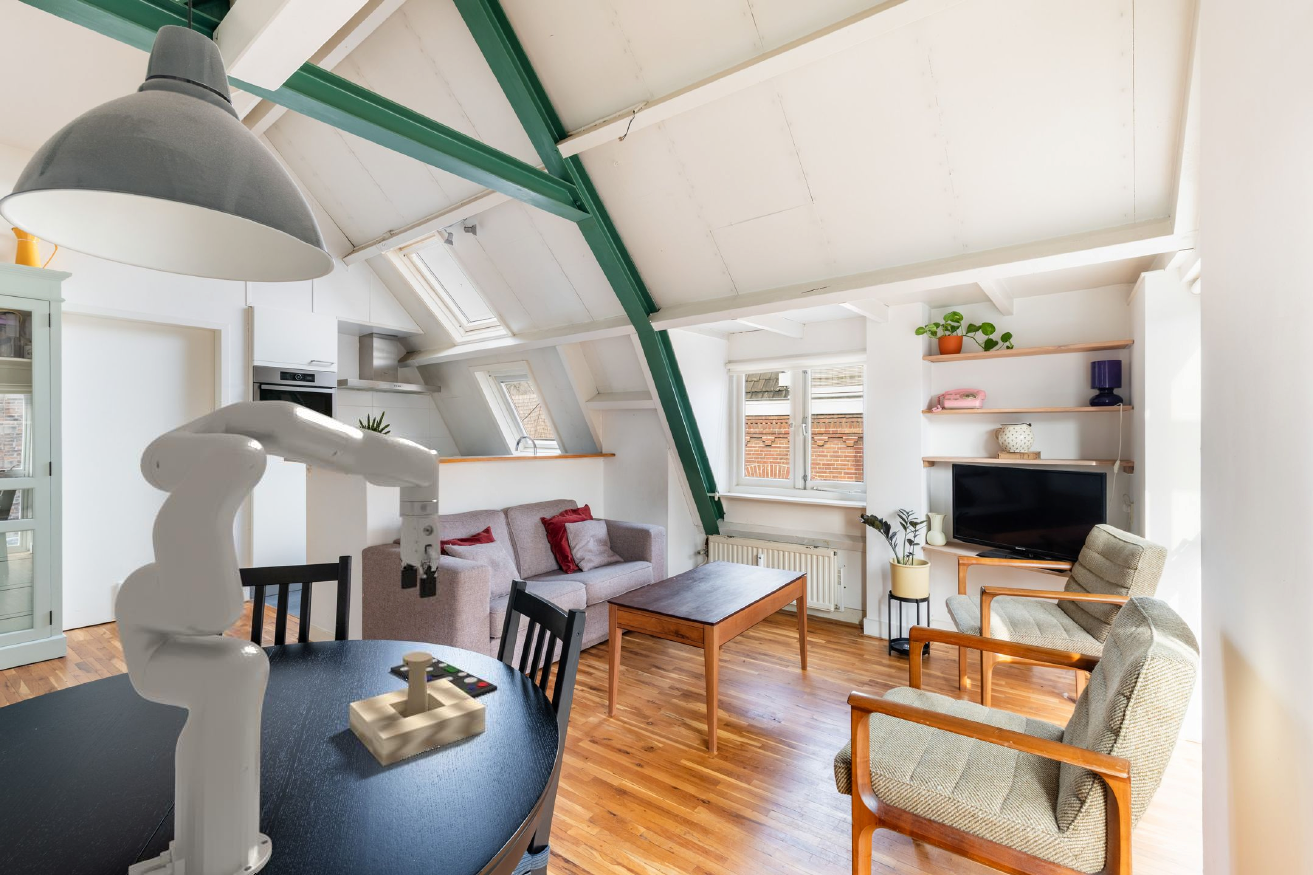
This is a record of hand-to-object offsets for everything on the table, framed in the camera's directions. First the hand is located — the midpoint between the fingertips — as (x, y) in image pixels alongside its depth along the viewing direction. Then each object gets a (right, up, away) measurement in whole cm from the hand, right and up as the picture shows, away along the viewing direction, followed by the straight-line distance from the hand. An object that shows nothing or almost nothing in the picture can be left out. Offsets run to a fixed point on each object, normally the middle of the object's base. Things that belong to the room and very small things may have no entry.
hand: (418, 592), depth 124 cm
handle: (0, -28, 0) cm, 28 cm away
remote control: (-4, -29, +26) cm, 39 cm away
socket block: (0, -28, 0) cm, 28 cm away
